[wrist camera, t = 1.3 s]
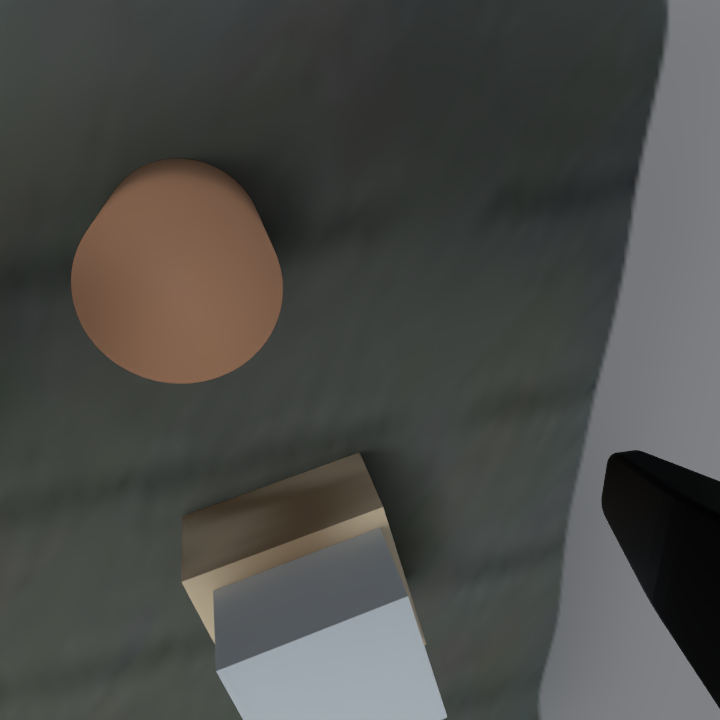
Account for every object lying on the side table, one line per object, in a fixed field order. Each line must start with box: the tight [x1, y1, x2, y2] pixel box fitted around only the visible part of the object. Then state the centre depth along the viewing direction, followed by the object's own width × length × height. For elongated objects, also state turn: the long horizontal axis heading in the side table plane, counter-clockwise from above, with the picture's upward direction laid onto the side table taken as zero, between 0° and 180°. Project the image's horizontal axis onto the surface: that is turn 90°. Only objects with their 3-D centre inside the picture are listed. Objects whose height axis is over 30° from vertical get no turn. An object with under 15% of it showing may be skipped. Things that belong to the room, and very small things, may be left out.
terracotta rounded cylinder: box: [71, 158, 283, 384], centre depth 17 cm, size 4×4×5 cm
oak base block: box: [182, 452, 426, 645], centre depth 23 cm, size 6×6×4 cm
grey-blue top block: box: [213, 528, 447, 720], centre depth 20 cm, size 6×6×3 cm
